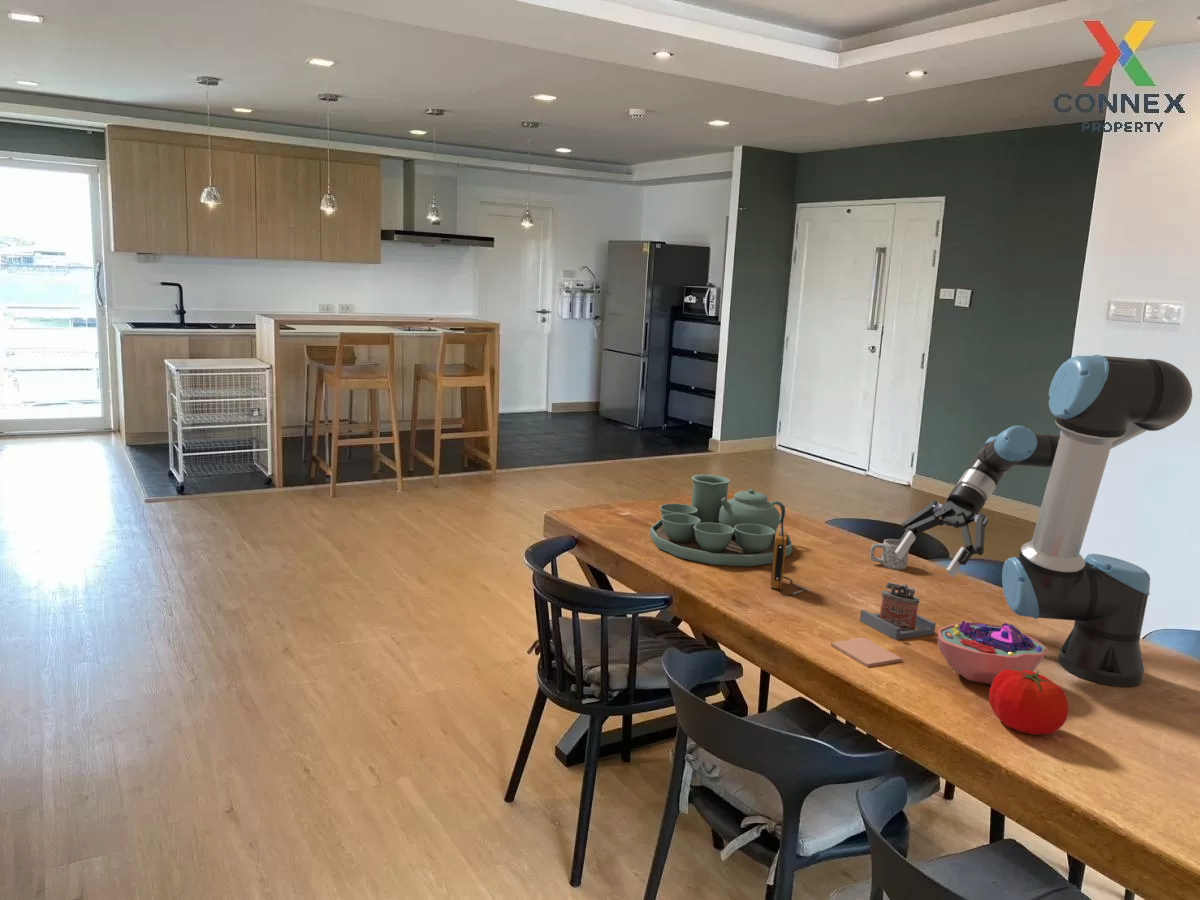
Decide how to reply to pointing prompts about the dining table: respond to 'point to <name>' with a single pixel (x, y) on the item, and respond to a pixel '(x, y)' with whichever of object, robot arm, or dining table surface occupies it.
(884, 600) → the lighter
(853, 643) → the mat
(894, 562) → the mug
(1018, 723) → the tomato
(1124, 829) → the dining table surface
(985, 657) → the cell model
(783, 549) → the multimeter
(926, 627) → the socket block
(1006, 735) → the dining table surface
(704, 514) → the tea set
